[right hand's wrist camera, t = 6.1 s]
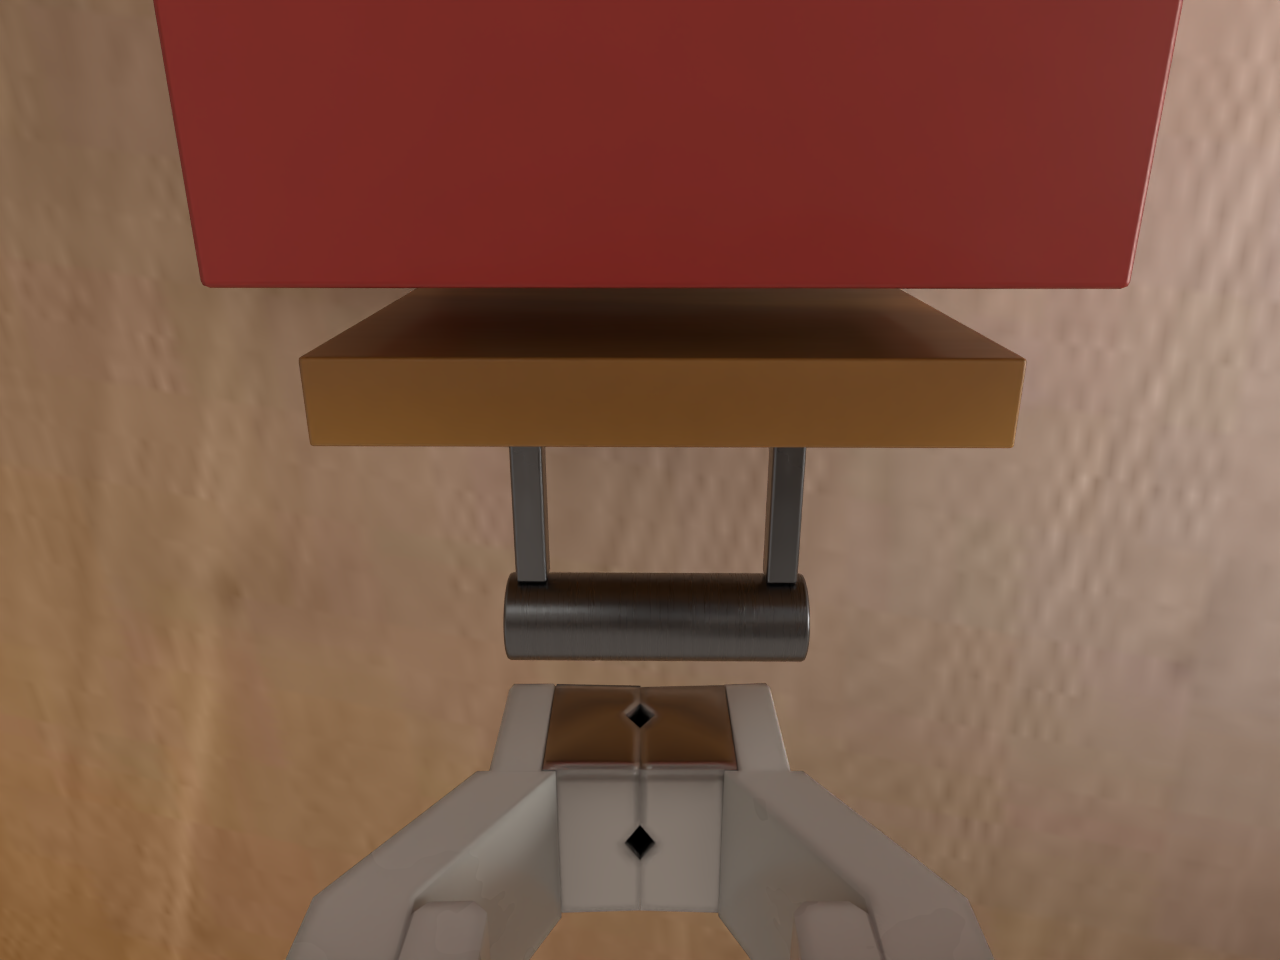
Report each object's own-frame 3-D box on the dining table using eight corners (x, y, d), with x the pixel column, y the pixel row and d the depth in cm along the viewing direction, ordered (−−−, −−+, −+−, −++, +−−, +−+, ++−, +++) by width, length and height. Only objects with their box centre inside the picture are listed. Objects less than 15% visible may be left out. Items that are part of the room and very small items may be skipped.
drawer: (846, 570, 22) (959, 811, 14) (464, 568, 22) (358, 807, 14) (964, -763, 14) (1392, -2003, 6) (362, -755, 14) (-22, -1967, 6)
